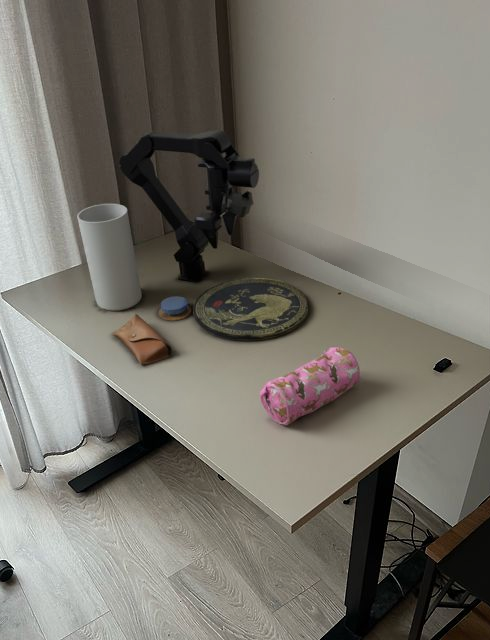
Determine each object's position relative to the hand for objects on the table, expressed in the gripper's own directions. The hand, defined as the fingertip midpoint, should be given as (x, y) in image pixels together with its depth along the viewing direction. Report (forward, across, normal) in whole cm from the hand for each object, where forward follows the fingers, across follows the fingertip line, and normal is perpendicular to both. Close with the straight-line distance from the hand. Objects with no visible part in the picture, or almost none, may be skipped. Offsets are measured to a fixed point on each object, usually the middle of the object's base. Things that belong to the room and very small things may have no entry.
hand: (222, 241), depth 164 cm
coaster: (+12, -20, +5) cm, 24 cm away
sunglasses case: (+12, -37, +5) cm, 39 cm away
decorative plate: (+12, -12, -13) cm, 22 cm away
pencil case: (+12, -42, -41) cm, 60 cm away
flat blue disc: (+12, -20, +5) cm, 24 cm away
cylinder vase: (+12, -20, +23) cm, 33 cm away
